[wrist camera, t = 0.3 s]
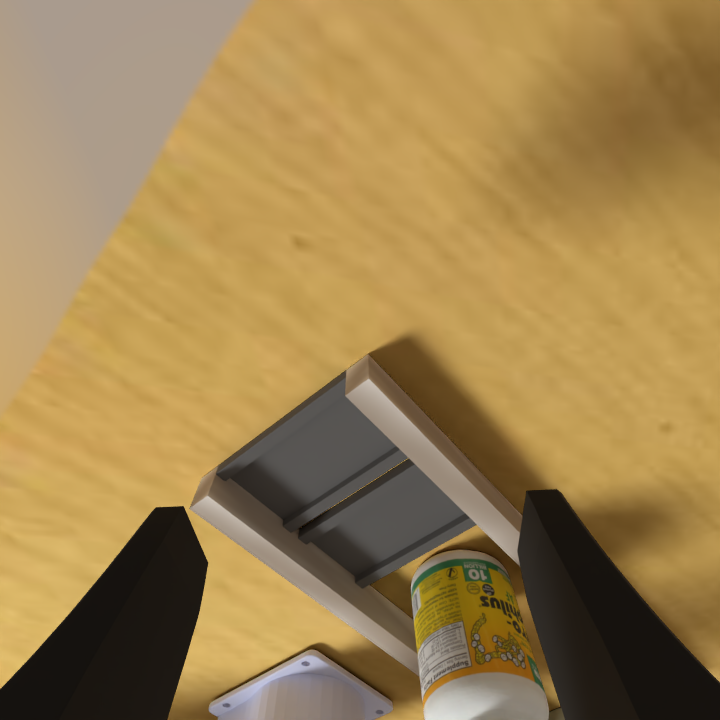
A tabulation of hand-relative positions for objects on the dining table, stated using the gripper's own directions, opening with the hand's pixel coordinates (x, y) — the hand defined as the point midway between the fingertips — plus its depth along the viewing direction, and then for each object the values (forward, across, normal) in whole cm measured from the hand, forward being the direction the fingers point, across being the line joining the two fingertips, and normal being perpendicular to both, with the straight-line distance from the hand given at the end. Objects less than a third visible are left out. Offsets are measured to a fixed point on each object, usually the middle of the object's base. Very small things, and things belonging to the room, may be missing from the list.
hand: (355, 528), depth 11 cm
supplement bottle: (+9, -4, +17) cm, 20 cm away
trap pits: (+10, +1, +10) cm, 14 cm away
